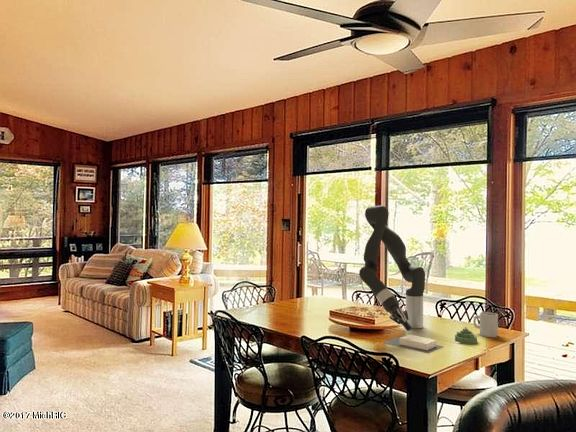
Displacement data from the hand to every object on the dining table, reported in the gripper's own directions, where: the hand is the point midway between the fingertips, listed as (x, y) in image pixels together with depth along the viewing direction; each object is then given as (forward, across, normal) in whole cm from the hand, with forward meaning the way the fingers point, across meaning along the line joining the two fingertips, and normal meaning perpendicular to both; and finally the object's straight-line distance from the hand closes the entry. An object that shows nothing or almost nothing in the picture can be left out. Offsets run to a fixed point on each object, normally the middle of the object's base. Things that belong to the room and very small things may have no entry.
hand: (409, 329), depth 217 cm
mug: (+17, +45, -6) cm, 49 cm away
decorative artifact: (+16, +26, -5) cm, 31 cm away
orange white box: (+2, 0, +6) cm, 6 cm away
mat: (+6, 0, +4) cm, 7 cm away
